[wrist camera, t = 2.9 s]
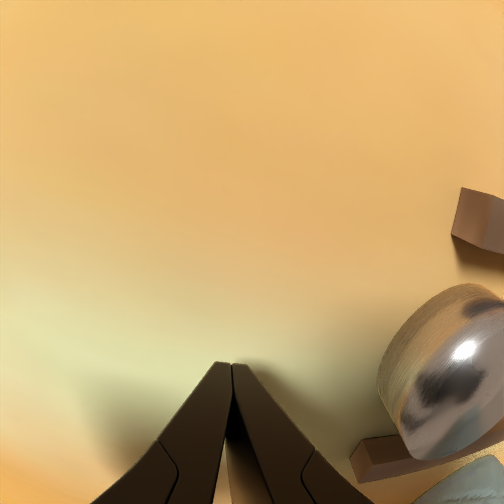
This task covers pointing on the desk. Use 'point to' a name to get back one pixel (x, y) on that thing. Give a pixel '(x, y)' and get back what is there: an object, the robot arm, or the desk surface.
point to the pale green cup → (470, 485)
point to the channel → (402, 462)
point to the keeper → (446, 372)
